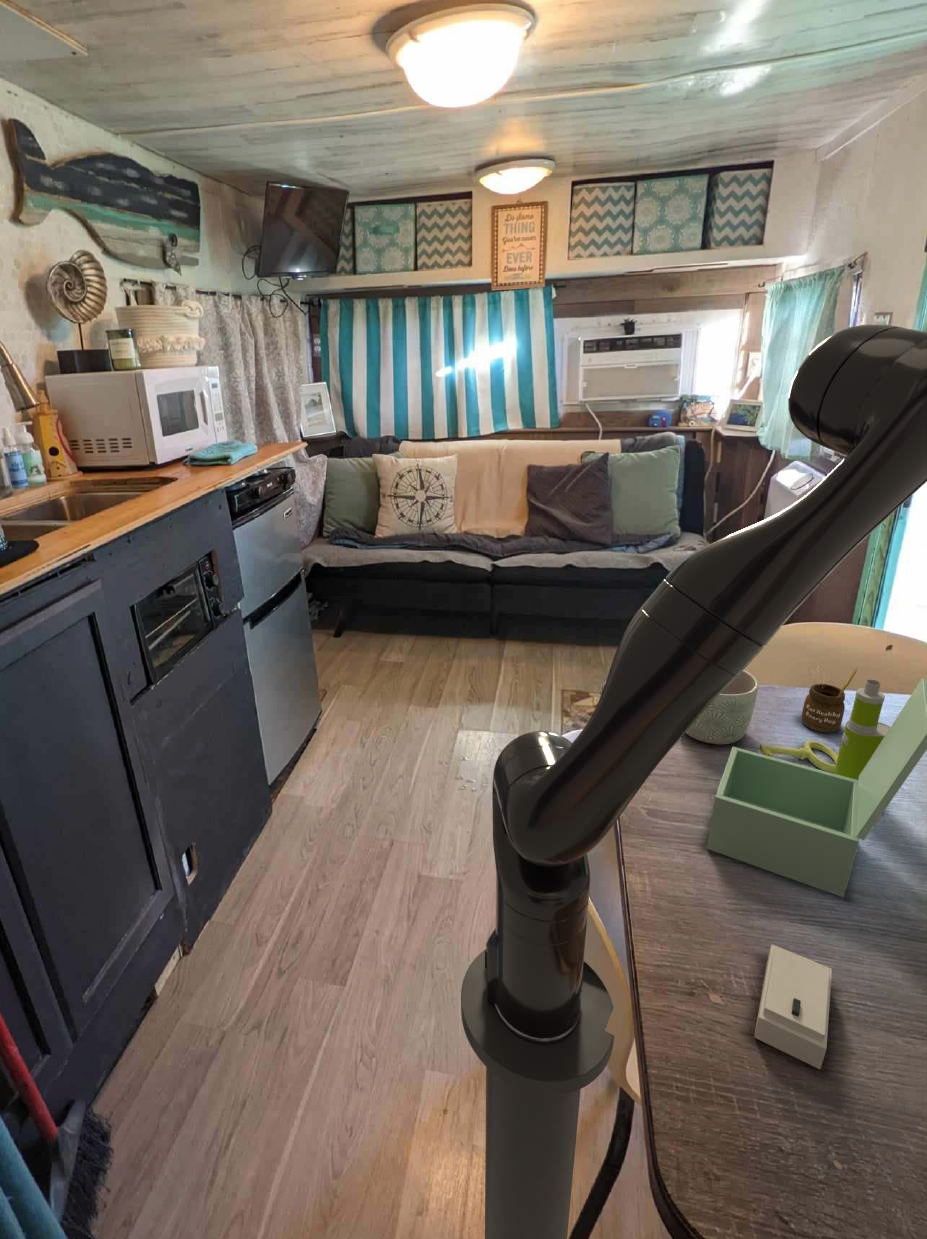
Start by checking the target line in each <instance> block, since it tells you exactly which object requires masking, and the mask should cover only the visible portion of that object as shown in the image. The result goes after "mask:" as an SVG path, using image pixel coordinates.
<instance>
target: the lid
mask: <svg viewBox="0 0 927 1239" xmlns="http://www.w3.org/2000/svg"><path fill="white" fill-rule="evenodd" d="M926 752H927V678H924V677H922V678H921V679H920V681H919V682H918V684H917V686H916V687H915V689H914V690H913V692H912V693H911V695H910V697H909V698H908V699H907V701H906V703H905V704H904V705H903V707H902V709H901V710H900V712H899V713H898V715H897V717H896V718H895V719H894V721H893V723H892V724H891V726H890V729H889V730H888V732H887V734H886V735H885V737H884V738H883V740H882V741H881V743H880V744H879V746H878V747H877V749H876V751H875V752H874V754H873V755H872V757H871V758H870V760H869V761H868V763H867V765H866V766H865V768H864V769H863V771H862V772H861V774H860V775H859V784H858V807H857V830H856V837H858V838H859V840H861V841H864V840H865V839H866V837H867V836H868V835H869V833H870V832H871V831H872V829H873V828H874V826H875V825H876V823H877V822H878V821H879V819H880V818H881V816H882V815H883V814H884V812H885V810H886V809H887V807H888V806H889V805H890V803H891V801H893V799H894V798H895V796H896V794H898V792H899V790H900V789H901V788H902V786H903V785H904V783H905V782H906V780H907V779H908V777H909V776H910V774H911V773H912V772H913V770H914V769H915V768H916V766H917V765H918V763H919V762H920V760H921V759H922V757H923V756H924V755H925V753H926Z"/></svg>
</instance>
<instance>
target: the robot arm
mask: <svg viewBox="0 0 927 1239" xmlns="http://www.w3.org/2000/svg"><path fill="white" fill-rule="evenodd" d="M787 407H788V408H787V409H788V413H789V417H790V420H791V422H792V424H793V425H794V427H795V429H796V430H797V431H798V432H799V433H800V434H802V436H803V437H805V438H807V439H808V440H810V441H811V442H812V443H815V444H816V445H818V446H820V447H823V448H825V449H827V450H831V451H833V452H835V453H838V454H841V455H844V456H845V457H844V458H843V460H842V461H841V462H840V463H839V464H838V465H836V467H835V468H834V469H832V470H831V472H830V473H828V474H827V476H825V477H824V478H823V479H822V480H820V482H819V483H818V484H817V485H816V486H814V487H813V489H812V490H810V491H809V492H808V493H806V495H804V496H803V497H801V498H800V499H799V500H797V501H795V502H794V503H793V504H791V505H790V506H788V507H786V508H785V509H783V510H781V511H780V512H778V513H776V514H774V515H772V516H770V517H767V518H766V519H764V520H761V521H759V522H757V523H755V524H752V525H750V526H748V527H745V528H743V529H741V530H738V531H736V532H734V533H731V534H729V535H727V536H724V537H722V538H720V539H718V540H715V541H714V542H712V543H709V544H707V545H705V546H703V547H701V548H700V549H698V550H695V551H694V552H692V553H690V554H688V555H687V556H685V557H684V558H683V559H682V560H680V561H679V562H678V563H677V564H676V565H675V566H673V568H672V569H671V570H670V571H669V572H668V573H667V575H666V576H665V578H664V579H662V580H661V582H660V583H659V584H658V585H657V587H656V588H655V590H654V591H653V592H651V594H650V595H649V597H648V598H647V599H646V600H645V601H644V602H643V604H642V605H641V606H640V608H639V609H638V610H637V612H636V613H635V614H634V616H633V617H632V619H631V620H630V622H629V624H628V625H627V627H626V629H625V630H624V633H623V635H622V637H621V638H620V641H619V643H618V646H617V648H616V652H615V654H614V656H613V660H612V662H611V665H610V667H609V671H608V675H607V677H606V681H605V684H604V687H603V690H602V691H601V694H600V697H599V699H598V701H597V704H596V706H595V708H594V710H593V712H592V715H591V716H590V718H589V720H588V721H587V723H585V724H586V725H585V726H584V727H583V729H582V730H581V731H580V732H579V734H578V736H577V737H576V738H575V739H574V740H573V742H572V741H571V740H569V739H568V738H567V737H565V736H562V735H560V734H559V733H556V732H552V731H547V730H536V731H535V730H534V731H530V732H525V733H522V734H521V735H519V736H517V737H515V738H514V739H512V740H511V741H509V743H508V744H506V746H505V747H504V748H503V749H502V750H501V751H500V753H499V754H498V757H497V759H496V761H495V763H494V767H493V771H492V786H491V787H492V789H491V790H492V794H491V796H492V798H491V799H492V847H493V854H494V865H495V927H494V929H493V931H492V933H491V934H490V935H489V937H488V939H487V941H486V943H485V945H486V948H485V949H486V950H485V949H484V950H485V968H486V969H487V1003H488V1004H490V1005H491V1006H493V1007H494V1008H495V1009H496V1012H497V1014H498V1016H499V1018H500V1020H501V1021H502V1023H503V1024H504V1025H505V1026H506V1027H507V1029H509V1030H510V1031H511V1032H512V1033H513V1034H515V1035H516V1036H518V1037H519V1038H521V1039H523V1040H525V1041H528V1042H531V1043H535V1044H544V1045H545V1044H554V1043H558V1042H560V1041H562V1040H564V1039H566V1038H567V1037H569V1036H570V1035H571V1034H572V1033H573V1031H574V1030H575V1029H576V1027H577V1025H578V1022H579V1018H580V1009H581V1005H580V1003H581V992H582V983H583V982H582V974H583V962H584V961H585V951H586V950H585V949H586V939H587V938H586V937H587V928H588V913H589V903H590V902H589V900H590V888H591V869H590V868H591V867H590V864H589V859H588V853H590V852H591V851H592V850H593V849H594V848H596V847H597V845H599V843H601V841H602V840H603V839H604V838H605V837H606V836H607V834H608V833H609V832H610V831H611V829H612V828H613V827H614V825H615V824H616V822H617V821H618V820H619V818H620V817H621V815H622V814H623V812H624V811H625V810H626V809H627V807H628V806H629V804H630V803H631V802H632V799H634V797H635V796H636V794H637V793H638V791H639V790H640V789H641V787H642V786H643V785H644V784H645V782H646V781H647V780H648V778H649V777H650V775H651V774H652V773H653V771H655V769H656V767H657V766H658V765H659V764H660V763H661V761H662V760H663V759H664V758H665V757H666V756H667V755H668V753H669V752H670V751H671V750H672V749H673V748H674V747H675V745H676V744H677V743H678V742H679V741H680V740H681V738H682V737H683V736H684V735H685V734H686V733H685V732H686V731H687V730H688V729H689V728H690V727H691V726H692V724H693V723H694V722H695V721H696V720H697V718H698V717H699V716H700V715H701V714H702V713H703V712H704V711H705V709H706V708H707V707H708V706H709V705H710V704H711V703H712V702H713V700H714V699H715V698H716V697H717V696H718V695H719V694H720V693H721V692H722V691H723V690H724V689H725V688H726V687H727V686H728V685H729V684H730V683H731V682H732V681H733V680H734V679H735V678H736V677H737V676H738V675H739V674H740V673H741V672H742V671H743V670H745V669H746V668H747V667H748V666H749V665H750V663H751V662H752V661H754V659H755V658H756V657H757V656H758V655H759V654H760V653H761V652H762V651H763V649H764V648H765V646H767V645H768V644H769V642H770V641H771V640H772V639H773V638H774V637H775V635H776V634H777V633H778V632H779V630H780V629H781V628H782V627H783V626H784V625H785V623H786V622H788V620H789V619H790V617H791V616H793V614H794V613H795V612H796V611H797V610H798V609H799V608H800V607H801V605H802V604H803V603H804V602H806V600H807V599H808V598H809V597H810V596H811V594H813V593H814V592H815V590H816V589H817V588H818V587H819V586H820V584H822V583H823V582H824V580H825V579H827V578H828V576H829V575H830V574H831V573H833V571H834V570H835V569H836V568H837V567H838V566H839V565H841V564H840V563H842V562H843V560H845V558H847V556H849V555H850V553H851V552H853V551H854V550H855V549H856V548H857V547H858V546H859V545H860V544H861V543H862V542H863V541H864V540H865V539H866V538H867V537H868V536H869V535H870V534H872V533H873V532H874V531H875V530H876V529H877V528H878V527H879V526H880V525H882V524H883V523H884V522H885V521H886V520H887V519H888V518H889V517H890V516H891V515H892V514H893V513H894V512H895V511H896V510H897V509H900V507H901V506H902V505H904V503H905V502H907V501H908V499H910V498H911V497H912V496H913V495H914V494H915V493H916V492H917V491H918V490H919V489H921V488H922V487H923V486H924V485H925V484H926V483H927V331H923V330H922V331H921V330H916V329H911V328H906V327H902V326H896V325H890V324H859V325H854V326H849V327H847V328H843V329H841V330H838V331H836V332H834V333H833V334H831V335H829V336H828V337H826V338H824V339H823V340H822V341H821V342H820V343H818V344H817V345H816V346H815V347H814V348H813V349H812V350H811V351H810V352H809V354H808V355H806V357H805V358H804V360H803V361H802V363H801V364H800V366H799V368H798V369H797V371H796V373H795V375H794V377H793V379H792V381H791V385H790V387H789V392H788V398H787Z"/></svg>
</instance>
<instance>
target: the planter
mask: <svg viewBox="0 0 927 1239" xmlns="http://www.w3.org/2000/svg"><path fill="white" fill-rule="evenodd" d="M759 687H760V684H759V681H758V679H757V678H756V677H755V676H754V675H753V674H752V673H750V672H748V671H747V670H745V669H744V670H743V671H742V672H741V673H740V674H739V675H738V676H737V677H736V678H735V679H734V680H733V681H732V682H731V683H730V684H729V685H728V686H727V687H726V688H725V689H724V690H723V691H722V692H721V693H720V694H719V695H718V696H717V697H716V698H715V699H714V700H713V702H712V703H711V704H710V705H709V706H708V707H707V708H706V709H705V711H704V712H703V713H702V714H701V715H700V716H699V717H698V718H697V720H696V721H695V722H694V723H693V724H692V726H691V727H690V728H689V729H688V730H687V731H686V732H685V734H686V735H688V736H689V737H691V738H693V739H695V740H697V741H699V742H702V743H706V744H712V745H729V744H733V743H736V742H738V741H740V740H741V739H743V737H744V736H745V735H746V733H747V732H748V730H749V727H750V724H751V720H752V717H753V713H754V709H755V704H756V701H757V696H758V691H759Z"/></svg>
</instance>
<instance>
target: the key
mask: <svg viewBox="0 0 927 1239" xmlns="http://www.w3.org/2000/svg"><path fill="white" fill-rule="evenodd" d="M813 749H816V750H818V751H821V752H823V753H825V754H827V756H829V757H830V758H831V759H832V760H833V761H834V763H835V764H833V763H829V762H826V761H824V760H823V759H821V758H820V757H819V756H817V755H816V754H815V753H814V752H813ZM758 751H759V752H760V753H763V755H766V756H770V757H773V758H774V755H782V756H788V757H789V756H790V757H797V758H798V759H799V760H804V759H808V761H810V762H811V764H813V765H814V766H815V767H817V768H819V770H822V771H826V772H829V773H834V770H835V766H836V762H837V758H838V753H837V752H836V751H834V749H832V748H831V747H829V746H828V745H826V744H825V743H822V742H820V741H816V740H807V741H806V742H805V743H804V745H803V747H799V748H791V747H782V746H775V745H767V744H760V745H759V746H758Z"/></svg>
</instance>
